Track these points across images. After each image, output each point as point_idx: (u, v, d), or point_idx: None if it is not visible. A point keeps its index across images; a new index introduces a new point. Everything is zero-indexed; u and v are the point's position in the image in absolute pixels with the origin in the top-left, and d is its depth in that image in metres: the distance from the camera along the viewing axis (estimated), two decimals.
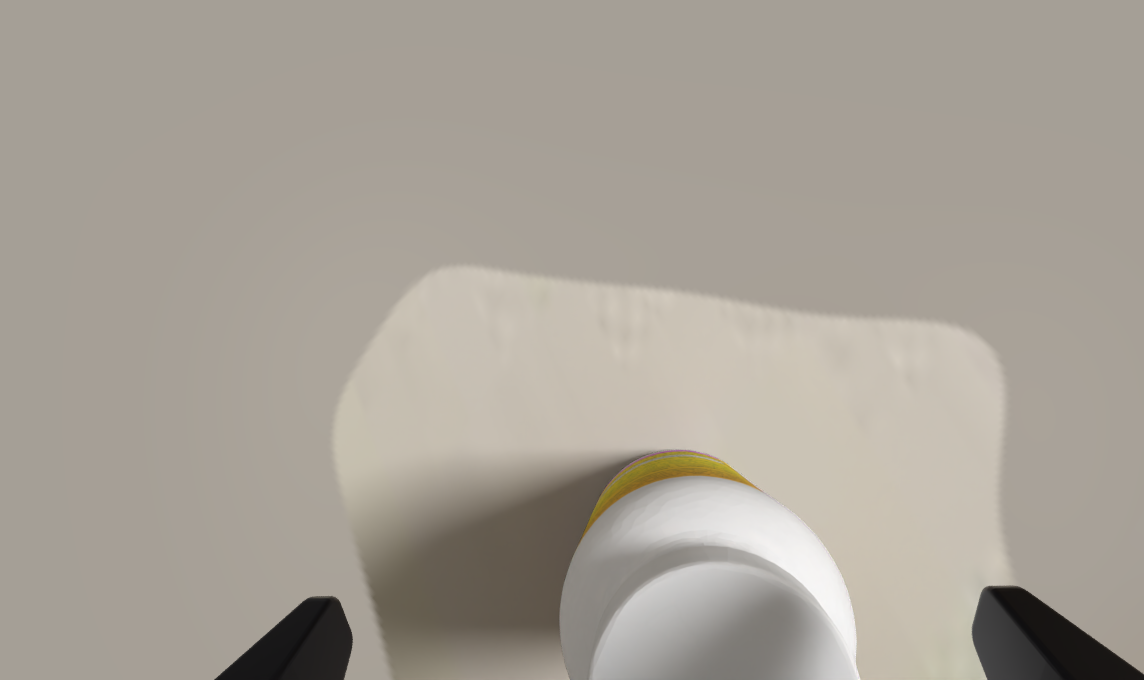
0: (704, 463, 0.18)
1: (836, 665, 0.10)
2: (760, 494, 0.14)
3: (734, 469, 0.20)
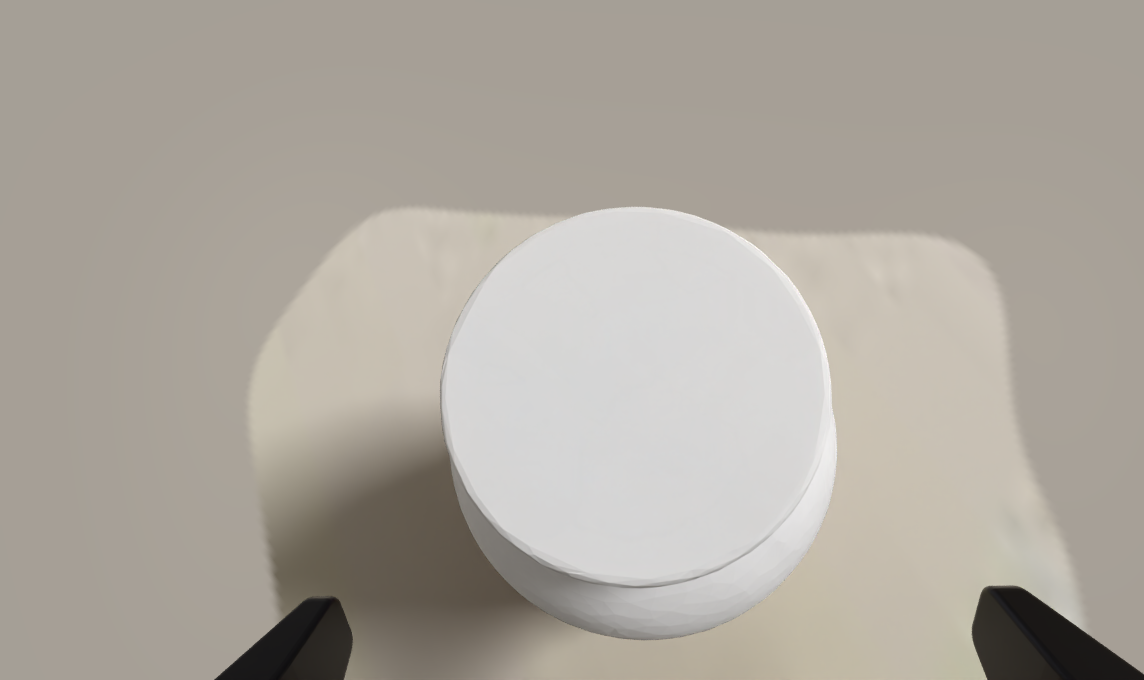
0: None
1: (783, 310, 0.07)
2: None
3: None
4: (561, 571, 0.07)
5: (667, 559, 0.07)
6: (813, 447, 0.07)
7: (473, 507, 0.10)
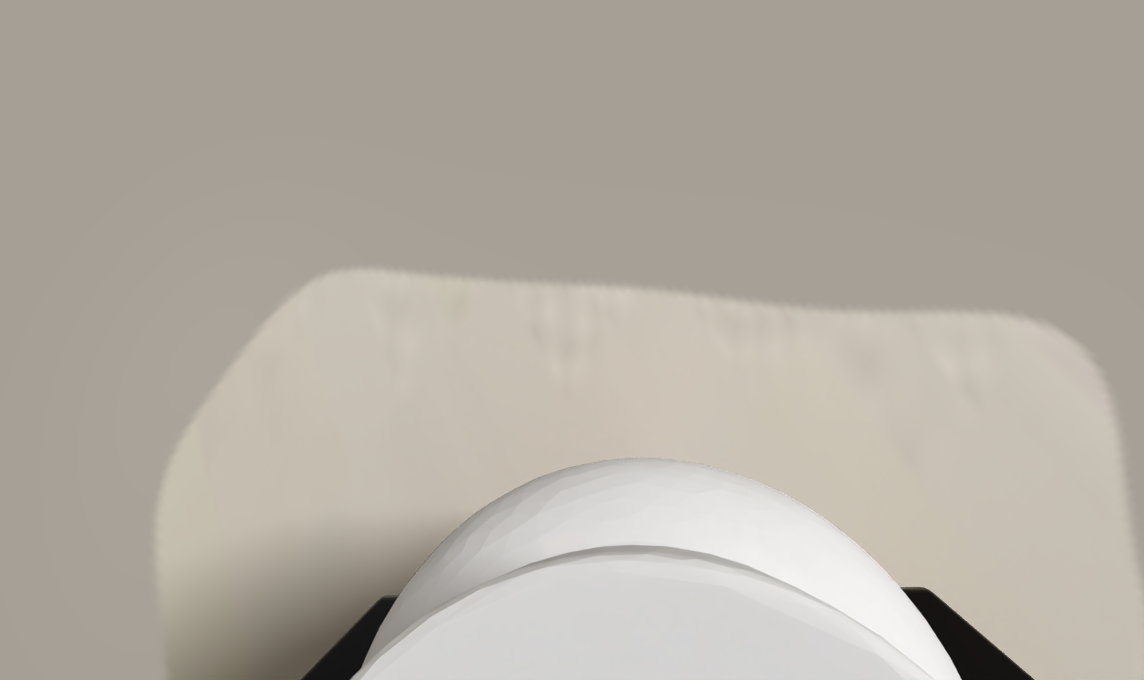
0: None
1: None
2: (754, 480, 0.07)
3: None
4: None
5: None
6: None
7: None
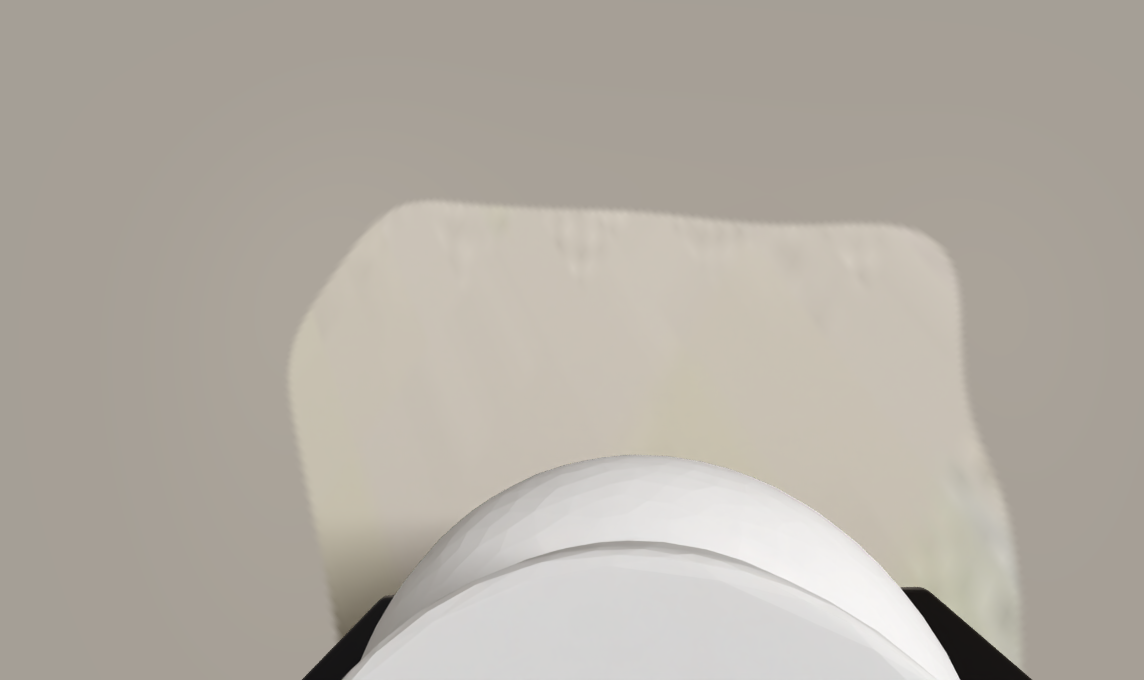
0: None
1: None
2: (752, 477, 0.07)
3: None
4: None
5: None
6: None
7: None
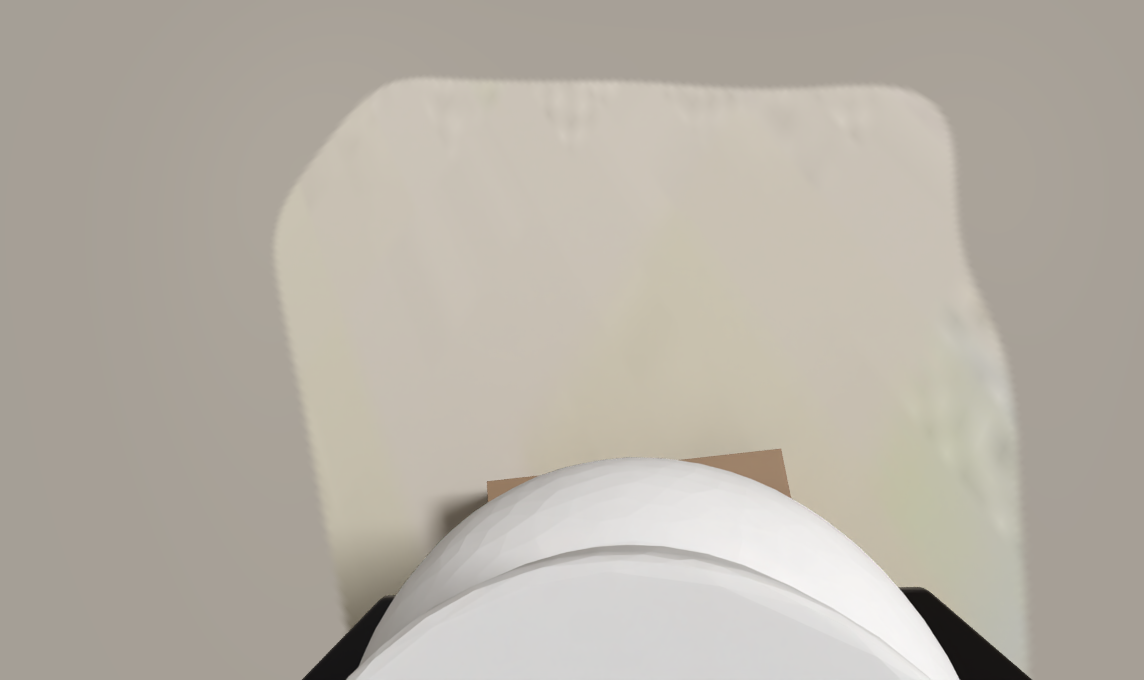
0: None
1: None
2: None
3: None
4: None
5: None
6: None
7: None
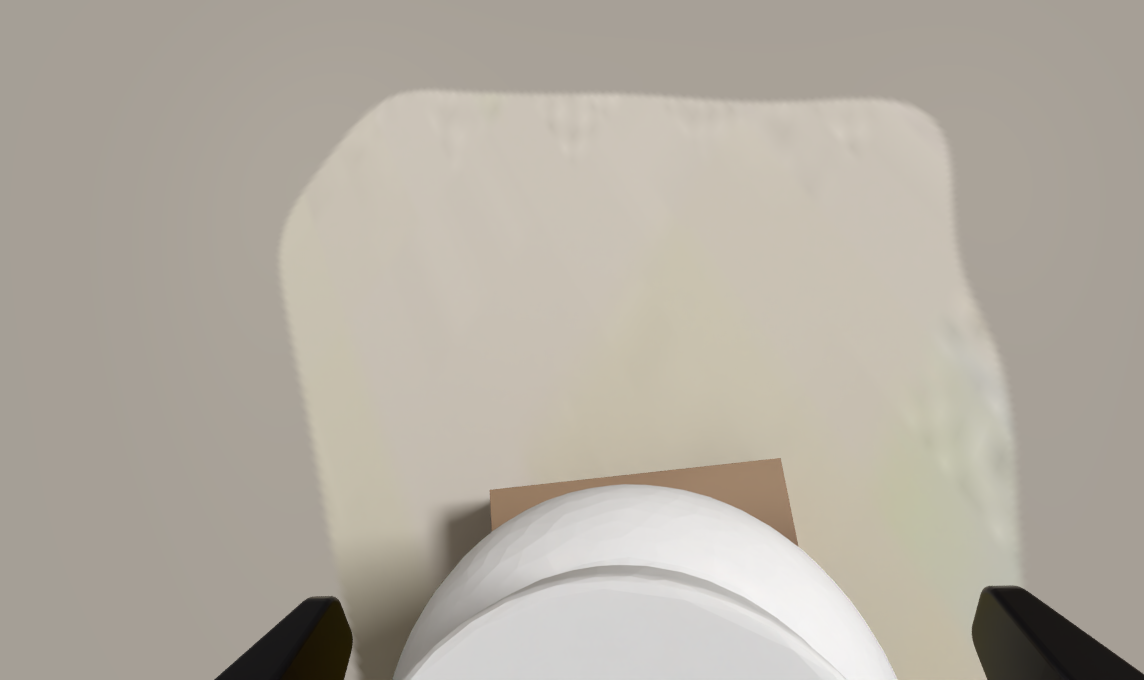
0: None
1: None
2: (727, 504, 0.08)
3: None
4: None
5: None
6: None
7: None
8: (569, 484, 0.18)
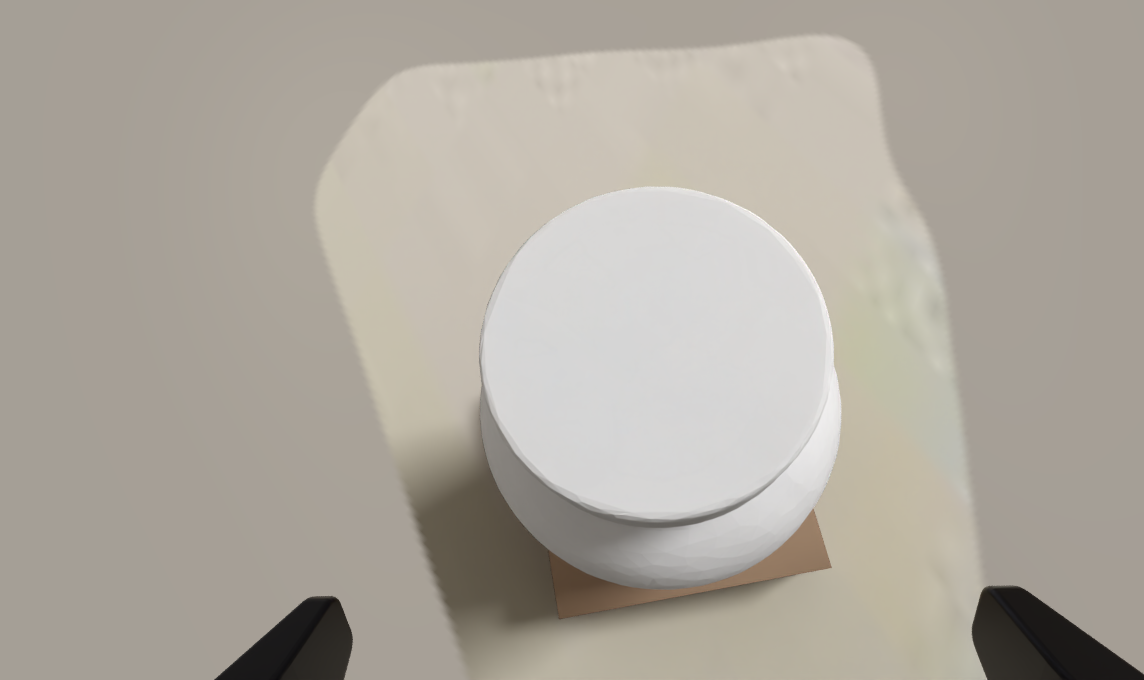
0: None
1: (782, 266, 0.08)
2: None
3: None
4: (607, 514, 0.07)
5: (701, 493, 0.07)
6: (821, 382, 0.08)
7: (510, 481, 0.10)
8: None
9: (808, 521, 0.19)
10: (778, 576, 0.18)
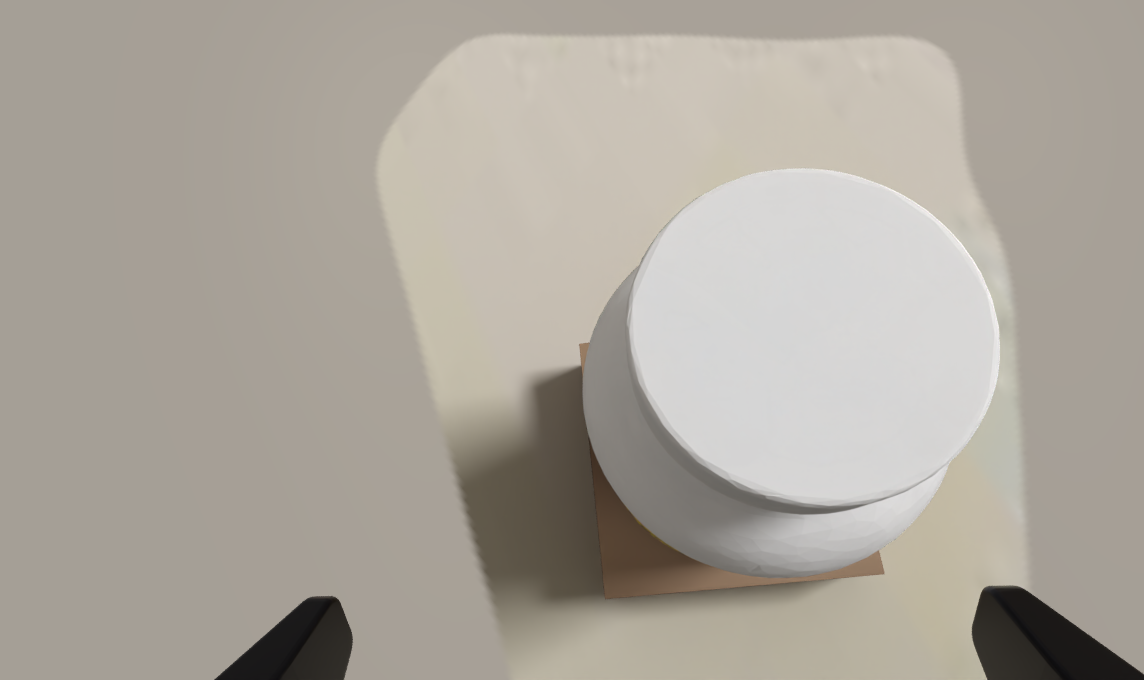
0: None
1: (948, 259, 0.08)
2: None
3: None
4: (758, 494, 0.07)
5: (858, 482, 0.07)
6: (987, 381, 0.07)
7: (618, 455, 0.10)
8: None
9: None
10: (829, 577, 0.18)
